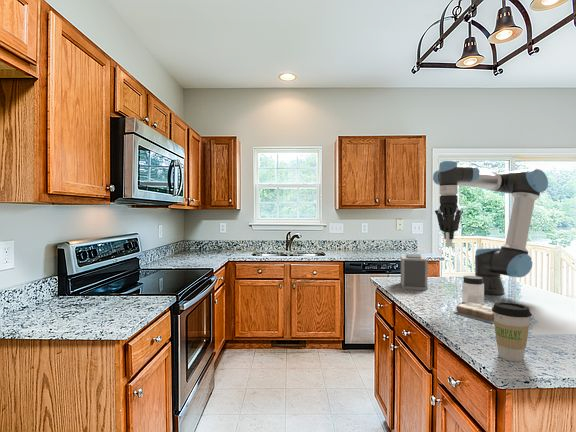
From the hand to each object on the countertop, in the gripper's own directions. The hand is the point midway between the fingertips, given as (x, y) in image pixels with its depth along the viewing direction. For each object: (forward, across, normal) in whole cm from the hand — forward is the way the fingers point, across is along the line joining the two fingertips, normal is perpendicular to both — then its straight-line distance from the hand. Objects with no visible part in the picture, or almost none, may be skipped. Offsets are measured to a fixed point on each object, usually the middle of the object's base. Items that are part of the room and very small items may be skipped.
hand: (448, 246), depth 163 cm
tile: (+25, +10, -5) cm, 27 cm away
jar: (+27, +5, +10) cm, 29 cm away
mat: (+26, +19, -5) cm, 33 cm away
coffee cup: (+26, +46, -40) cm, 66 cm away
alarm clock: (+27, -34, +17) cm, 46 cm away
